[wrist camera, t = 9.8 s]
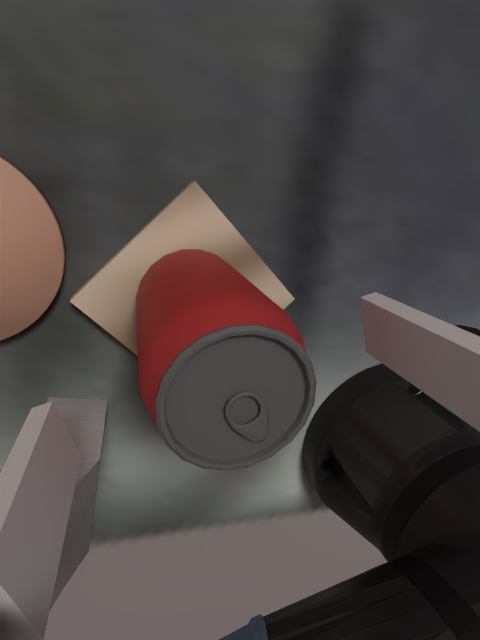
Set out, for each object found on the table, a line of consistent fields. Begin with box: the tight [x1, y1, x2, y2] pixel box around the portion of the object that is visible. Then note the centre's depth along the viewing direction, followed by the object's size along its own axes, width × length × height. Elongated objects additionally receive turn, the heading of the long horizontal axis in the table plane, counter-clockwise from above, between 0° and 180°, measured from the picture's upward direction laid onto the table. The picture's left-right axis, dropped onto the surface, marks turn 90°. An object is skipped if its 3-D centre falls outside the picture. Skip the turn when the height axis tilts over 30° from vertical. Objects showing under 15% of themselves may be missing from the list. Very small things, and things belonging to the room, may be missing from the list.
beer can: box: [136, 249, 316, 470], centre depth 17 cm, size 7×7×12 cm
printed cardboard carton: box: [46, 397, 108, 611], centre depth 21 cm, size 4×7×10 cm, turn 167°
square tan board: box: [70, 180, 294, 355], centre depth 23 cm, size 10×10×1 cm
